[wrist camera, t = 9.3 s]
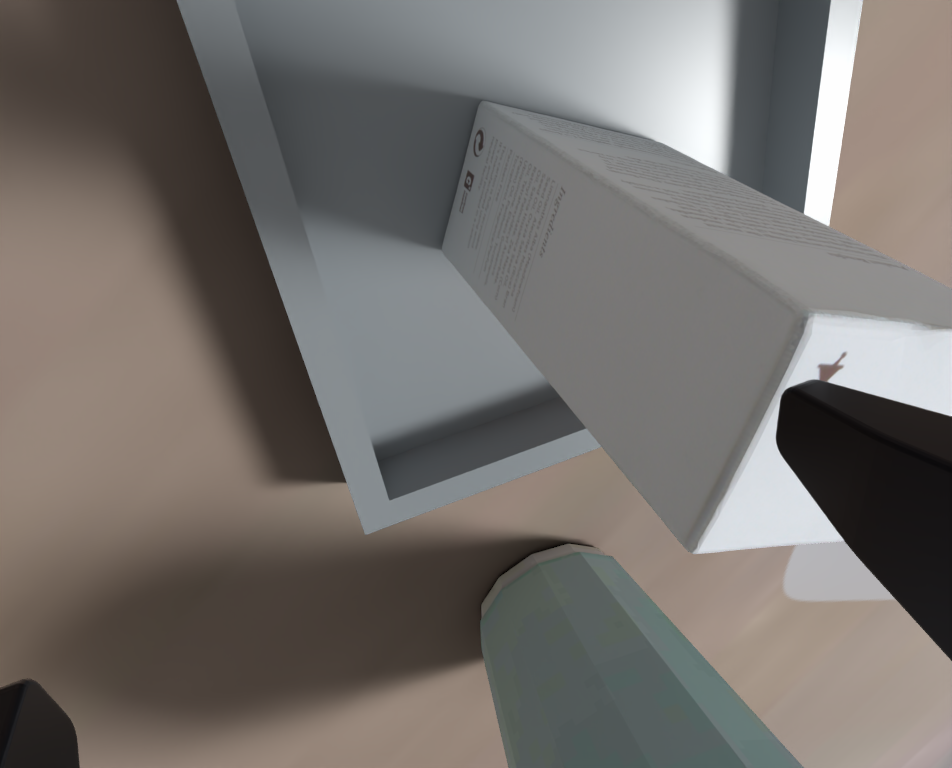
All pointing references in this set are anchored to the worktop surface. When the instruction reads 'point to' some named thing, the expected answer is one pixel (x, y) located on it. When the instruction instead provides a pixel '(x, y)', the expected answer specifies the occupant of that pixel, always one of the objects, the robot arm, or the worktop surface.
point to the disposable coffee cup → (607, 675)
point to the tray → (437, 177)
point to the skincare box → (685, 315)
